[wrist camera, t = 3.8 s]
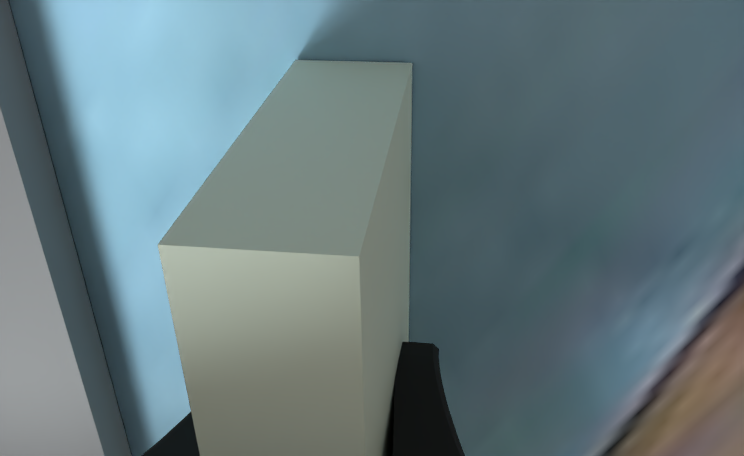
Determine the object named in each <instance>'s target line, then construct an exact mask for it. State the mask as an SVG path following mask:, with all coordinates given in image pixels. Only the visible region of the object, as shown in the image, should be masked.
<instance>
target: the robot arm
mask: <svg viewBox="0 0 744 456" xmlns="http://www.w3.org/2000/svg"><path fill="white" fill-rule="evenodd" d="M142 456H200V453H199V448H198V443H197V438H196V433H195V428H194V423H193V418H192V413H191V412H190V413H189V414H188V415H187V416H186V417H185V418H184V419H183V420H181V421H180V422H179V423H178V424H177V425H176V426H175V427H174V428H173V429H172V430H171V431H170V432H169V433H168V434H166V435H165V436H164V437H163V438H162V439H161V440H160V441H158V442H157V443H156V444H155V445H154V446H153V447H151V448H150V449H149V450H148V451H147V452H145V453H144V454H143V455H142ZM392 456H465V454H464V452H463V450H462V447H461V444H460V442H459V439H458V436H457V433H456V430H455V427H454V424H453V421H452V418H451V415H450V411H449V408H448V405H447V401H446V397H445V393H444V389H443V385H442V380H441V374H440V368H439V349H438V348H437V347H436V346H435V345H434V344H430V343H416V342H402V346H401V350H400V355H399V360H398V365H397V370H396V375H395V394H394V430H393V453H392Z"/></svg>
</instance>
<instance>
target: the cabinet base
mask: <svg viewBox="0 0 744 456" xmlns="http://www.w3.org/2000/svg"><path fill="white" fill-rule="evenodd" d="M0 456H132V455H131V452H130V448H129V444H128V441H127V437H126V433H125V430H124V426H123V422H122V418H121V415H120V411H119V407H118V404H117V400H116V396H115V393H114V389H113V385H112V382H111V378H110V374H109V371H108V367H107V363H106V359H105V356H104V352H103V348H102V345H101V341H100V337H99V334H98V330H97V326H96V323H95V319H94V315H93V311H92V308H91V304H90V300H89V297H88V293H87V289H86V286H85V282H84V278H83V275H82V271H81V267H80V264H79V260H78V256H77V252H76V249H75V245H74V241H73V238H72V234H71V230H70V227H69V223H68V219H67V216H66V212H65V208H64V205H63V201H62V197H61V193H60V190H59V186H58V182H57V179H56V175H55V171H54V168H53V164H52V160H51V157H50V153H49V149H48V145H47V142H46V138H45V134H44V131H43V127H42V123H41V120H40V116H39V112H38V109H37V105H36V101H35V98H34V94H33V90H32V86H31V83H30V79H29V75H28V72H27V68H26V64H25V61H24V57H23V53H22V50H21V46H20V42H19V38H18V35H17V31H16V27H15V24H14V20H13V16H12V13H11V9H10V5H9V2H8V0H0Z"/></svg>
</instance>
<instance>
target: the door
mask: <svg viewBox="0 0 744 456" xmlns="http://www.w3.org/2000/svg"><path fill="white" fill-rule="evenodd" d="M411 133H412V63H403V62H363V61H323V60H295V61H294V62H293V64H292V65H291V66H290V68H289V69H288V70H287V72H286V73H285V74H284V76H283V77H282V78H281V80H280V81H279V82H278V84H277V85H276V87H275V88H274V89H273V91H272V92H271V93H270V95H269V96H268V97H267V99H266V100H265V101H264V103H263V104H262V105H261V107H260V108H259V109H258V111H257V112H256V113H255V115H254V116H253V117H252V119H251V120H250V121H249V123H248V124H247V125H246V127H245V128H244V129H243V131H242V132H241V133H240V135H239V136H238V138H237V139H236V140H235V142H234V143H233V144H232V146H231V147H230V148H229V150H228V151H227V152H226V154H225V155H224V156H223V158H222V159H221V160H220V162H219V163H218V164H217V166H216V167H215V168H214V170H213V171H212V172H211V174H210V175H209V176H208V178H207V179H206V180H205V182H204V183H203V185H202V186H201V187H200V189H199V190H198V191H197V193H196V194H195V195H194V197H193V198H192V199H191V201H190V202H189V203H188V205H187V206H186V207H185V209H184V210H183V211H182V213H181V214H180V215H179V217H178V218H177V219H176V221H175V222H174V223H173V225H172V226H171V227H170V229H169V230H168V232H167V233H166V234H165V236H164V237H163V238H162V240H161V241H160V242H159V244H158V249H159V254H160V259H161V264H162V269H163V274H164V279H165V284H166V289H167V294H168V299H169V303H170V308H171V313H172V318H173V323H174V328H175V333H176V338H177V343H178V348H179V353H180V358H181V363H182V368H183V373H184V378H185V383H186V388H187V393H188V398H189V403H190V408H191V413H192V418H193V423H194V428H195V433H196V438H197V443H198V448H199V453H200V456H392V453H393V430H394V394H395V375H396V370H397V365H398V360H399V355H400V350H401V346H402V342H409V283H410V208H411Z"/></svg>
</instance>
